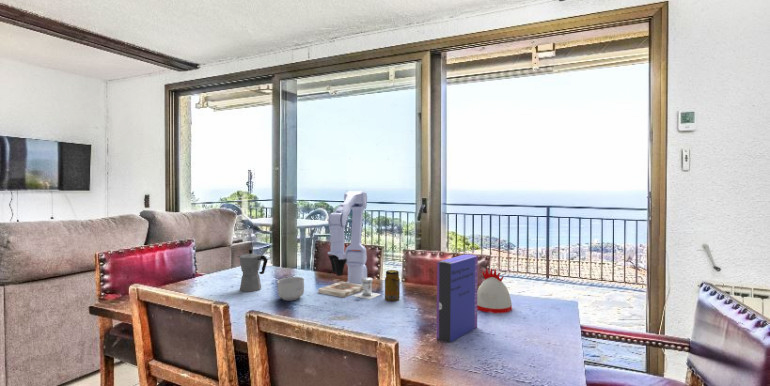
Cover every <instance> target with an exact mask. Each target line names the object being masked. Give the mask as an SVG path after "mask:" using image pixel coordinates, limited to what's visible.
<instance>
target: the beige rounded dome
mask: <svg viewBox="0 0 770 386" xmlns="http://www.w3.org/2000/svg"><path fill="white" fill-rule="evenodd" d="M481 272H482V275H483V278H484V280H483V281H482V282H481V284H480V285H479V286H477V311H481V312H485V313H488V314H489V313H490V314H505V313H510V312H511V311H512V309H513V308H512V307H513V304H512V299H511V296H510V293H509V290H508V288H507V286H506V284H505V283H504V281H503V279H504V275H503V276H501V278H500V275H501V272H498V273H497V269H496V268H495V269H494V270H493V268H491V269H490V271H489V269H488V268H485V272H484V271H481Z"/></svg>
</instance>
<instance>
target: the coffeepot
mask: <svg viewBox="0 0 770 386" xmlns="http://www.w3.org/2000/svg"><path fill="white" fill-rule="evenodd" d="M237 258H239V263H240V269H241V272H242V275H241V281H240V286H239V291H240V292H244V293H248V292H249V293H251V292H253V293H254V292H258V291H260V290H261V289H262V284H261V279H260V277H261V276H260V275H264V274H265V271H266V268H267V263H268V258H267V257H266V255H261V254H257V253H253V249H248V253H245V254H242V255H240V254H239V255H238V256H237ZM261 261H263V263H262V267H261ZM260 267H261V271H259V270H260Z"/></svg>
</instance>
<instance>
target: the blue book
mask: <svg viewBox="0 0 770 386" xmlns="http://www.w3.org/2000/svg"><path fill="white" fill-rule="evenodd" d="M478 263H479V257H478V255H474V254H462V255H458V256H454V257H451V258H446V259H442V260H439V261H437V262H436V340H438V341H442V342H446V343H449V344H451V343H453V342H454V341H456V340H458V339H460V338H461V337H463V336H465V335H467V334H469V333H470V332H472V331H474V330H475V329H477V328H478V309H477V291H478V287H479V286H478V283H479V282H478V281H479V279H478V275H479V274H478V272H479V268H478V267H479V266H478V265H479V264H478Z"/></svg>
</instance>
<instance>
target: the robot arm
mask: <svg viewBox="0 0 770 386" xmlns="http://www.w3.org/2000/svg"><path fill="white" fill-rule="evenodd" d="M343 200H344V201H343V203H340V204H339V205H338V206H337V208H336V209H335V211H334V212H331V213H330V214H329V215H328V218H327V223H328V228H329V229H328V230H329V231H330V251H327V255H328V258H329V260H330V265H331V269H332V273H336V276H338V277H339V276H341V277H342V276H343V274H344V268H345V267H346V266H347V282H348V283H354V284H360V285H362V281H361V278H364V277H368V268H367V265H366V263H367V259H368V258H367V256H368V254H367V248H366V246H364V245H363V244H362V232H363V217H364V216H363V215H364V210H365V209H367V206H368V194H367V192H366V191H365V190H346V191H345V192H344V195H343ZM351 210H352V219H351V221H352V222H351V224H352V225H351V235H350V237H351V238H350V244H349V245H348V246H346V247H345V226H347V221H348V216H349V214H350V213H351Z"/></svg>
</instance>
